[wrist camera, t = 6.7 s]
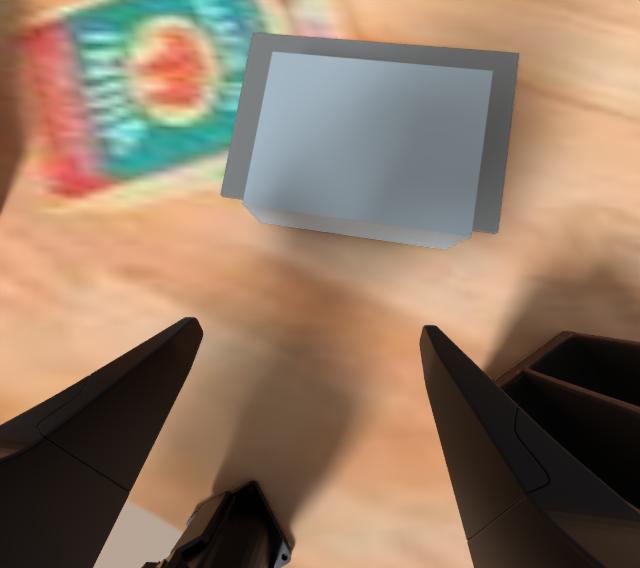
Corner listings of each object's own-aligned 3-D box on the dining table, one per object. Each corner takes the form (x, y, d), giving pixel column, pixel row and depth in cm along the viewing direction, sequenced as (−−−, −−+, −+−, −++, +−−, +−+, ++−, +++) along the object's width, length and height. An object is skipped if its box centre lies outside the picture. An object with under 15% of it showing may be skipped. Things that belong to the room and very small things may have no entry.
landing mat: (495, 233, 21) (498, 232, 20) (222, 196, 23) (220, 194, 22) (515, 57, 22) (519, 52, 22) (254, 37, 24) (252, 32, 24)
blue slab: (471, 236, 17) (492, 70, 17) (242, 204, 18) (272, 51, 19) (445, 249, 21) (464, 114, 21) (259, 222, 22) (283, 95, 23)
